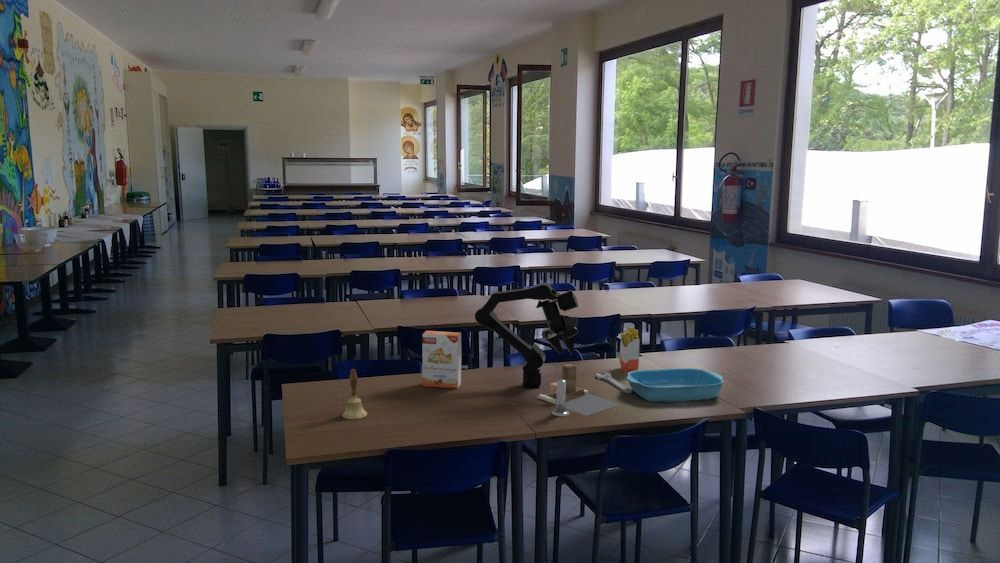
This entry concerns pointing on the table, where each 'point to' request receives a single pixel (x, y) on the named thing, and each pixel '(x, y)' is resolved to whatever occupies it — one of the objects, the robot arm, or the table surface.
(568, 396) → the wooden block on base
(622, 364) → the french fries container
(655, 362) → the table surface
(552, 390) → the terracotta block
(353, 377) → the hand bell
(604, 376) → the adjustable wrench
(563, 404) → the grey metal stick
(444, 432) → the table surface
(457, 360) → the cracker box
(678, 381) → the casserole dish
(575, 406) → the mat
